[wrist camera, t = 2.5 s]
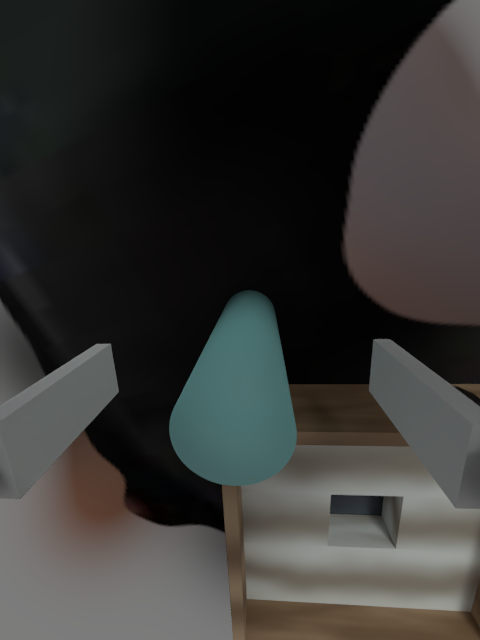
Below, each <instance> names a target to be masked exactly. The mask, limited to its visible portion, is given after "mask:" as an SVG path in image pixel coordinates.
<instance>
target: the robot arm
mask: <svg viewBox="0 0 480 640" xmlns="http://www.w3.org/2000/svg"><path fill="white" fill-rule="evenodd" d="M369 391H370V393H371V394H372V396H373V397H374V398H375V400H376V401H377V402H378V404H379V405H380V406H381V408H382V409H383V410H384V412H385V413H386V415H387V416H388V417H389V419H390V420H391V421H392V423H393V424H394V425H395V427H396V428H397V430H398V431H399V432H400V434H401V435H402V436H403V438H404V439H405V440H406V442H407V443H408V444H409V446H410V447H411V449H412V450H413V451H414V453H415V454H416V455H417V457H418V458H419V459H420V461H421V462H422V463H423V465H424V466H425V468H426V469H427V470H428V472H429V473H430V474H431V476H432V477H433V478H434V480H435V481H436V483H437V484H438V485H439V487H440V488H441V489H442V491H443V492H444V493H445V495H446V496H447V497H448V499H449V500H450V502H451V503H452V504H453V506H454V507H455V508H456V509H480V398H479V397H477V396H476V395H475V394H473V393H471V392H469V391H467V390H465V389H462V388H460V387H458V386H452V385H450V384H449V383H448V382H446V381H445V380H444V379H442V378H441V377H440V376H438V375H437V374H436V373H434V372H433V371H432V370H430V369H429V368H428V367H426V366H425V365H424V364H422V363H421V362H420V361H418V360H417V359H416V358H414V357H413V356H412V355H411V354H409V353H408V352H406V351H405V350H404V349H403V348H401V347H400V346H399V345H397V344H396V343H395V342H393V341H392V340H391V339H373V349H372V361H371V372H370V383H369ZM118 392H119V390H118V384H117V378H116V372H115V366H114V361H113V355H112V349H111V344H96V345H94V346H92V347H91V348H89V349H88V350H86V351H85V352H83V353H82V354H80V355H78V356H77V357H75V358H74V359H72V360H71V361H69V362H67V363H66V364H64V365H63V366H61V367H60V368H58V369H57V370H55V371H53V372H52V373H50V374H49V375H47V376H46V377H44V378H42V379H41V380H40V381H38V382H36V383H35V384H33V385H32V386H30V387H28V388H27V389H25V390H24V391H22V392H21V393H19V394H17V395H16V396H14V397H13V398H11V399H10V400H8V401H7V402H5V403H3V404H2V405H0V498H15V499H17V498H18V499H20V498H22V496H23V495H24V494H25V493H26V492H27V491H28V490H29V489H30V488H31V487H32V486H33V485H34V483H35V482H36V481H37V480H38V479H39V478H40V477H41V476H42V475H43V474H44V473H45V471H46V470H47V469H48V468H49V467H50V466H51V465H52V464H53V463H54V462H55V461H56V460H57V458H58V457H59V456H60V455H61V454H62V453H63V452H64V451H65V450H66V449H67V448H68V446H69V445H70V444H71V443H72V442H73V441H74V440H75V439H76V438H77V437H78V436H79V435H80V433H81V432H82V431H83V430H84V429H85V428H86V427H87V426H88V425H89V424H90V423H91V422H92V420H93V419H94V418H95V417H96V416H97V415H98V414H99V413H100V412H101V411H102V410H103V408H104V407H105V406H106V405H107V404H108V403H109V402H110V401H111V400H112V399H113V398H114V397H115V395H116V394H117V393H118Z"/></svg>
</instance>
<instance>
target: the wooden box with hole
mask: <svg viewBox="0 0 480 640" xmlns="http://www.w3.org/2000/svg"><path fill="white" fill-rule="evenodd" d="M288 385H289V391H290V396H291V401H292V407H293V412H294V418H295V423H296V429H297V440H296V446H295V450H294V452H293V454H292V456H291V458H290V460H289V461H288V463H287V464H286V465H285V466H284V467H283V468H282V469H281V470H280V471H279V472H278V473H277V474H275V475H274V476H272V477H270V478H268V479H267V480H264V481H262V482H259V483H255V484H251V485H245V486H229V485H223V484H222V494H223V508H224V521H225V535H226V547H227V562H228V575H229V589H230V602H231V616H232V629H233V640H480V509H456V508H455V507H454V506H453V504H452V503H451V502H450V500H449V499H448V497H447V496H446V495H445V493H444V492H443V491H442V489H441V488H440V487H439V485H438V484H437V483H436V481H435V480H434V478H433V477H432V476H431V474H430V473H429V472H428V470H427V469H426V468H425V466H424V465H423V463H422V462H421V461H420V459H419V458H418V457H417V455H416V454H415V453H414V451H413V450H412V449H411V447H410V446H409V444H408V443H407V442H406V440H405V439H404V438H403V436H402V435H401V434H400V432H399V431H398V430H397V428H396V427H395V425H394V424H393V423H392V421H391V420H390V419H389V417H388V416H387V415H386V413H385V412H384V410H383V409H382V408H381V406H380V405H379V404H378V402H377V401H376V400H375V398H374V397H373V396H372V394H371V393H370V391H369V384H288ZM450 385H452V386H458V387H460V388H462V389H465V390H467V391H469V392H471V393H473V394H475V395H476V396H477V397H479V398H480V384H450ZM331 495H365V496H384V499H383V507H382V515H381V516H380V515H350V514H330V502H331Z"/></svg>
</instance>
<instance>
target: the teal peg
mask: <svg viewBox="0 0 480 640" xmlns="http://www.w3.org/2000/svg"><path fill="white" fill-rule="evenodd" d="M169 433H170V439H171V443H172V445H173V448H174V450H175V452H176V454H177V455H178V457H179V458H180V460H181V461H182V462H183V463H184V464H185V465H186V466H187V467H188V468H189V469H190V470H191V471H193V472H194V473H196V474H197V475H199V476H201V477H202V478H204V479H207V480H209V481H211V482H215V483H218V484H223V485H229V486H245V485H251V484H255V483H259V482H262V481H264V480H267V479H268V478H270V477H272V476H274V475H275V474H277V473H278V472H279V471H280V470H281V469H282V468H283V467H284V466H285V465H286V464H287V463H288V461H289V460H290V458H291V456H292V454H293V452H294V450H295V446H296V440H297V429H296V423H295V418H294V412H293V407H292V401H291V396H290V391H289V385H288V380H287V374H286V369H285V363H284V358H283V353H282V347H281V342H280V336H279V331H278V325H277V320H276V315H275V310H274V306H273V304H272V302H271V301H270V300H269V299H268V297H266V296H265V295H264V294H262V293H260V292H257V291H253V290H246V291H241V292H239V293H237V294H235V295H234V296H232V297H231V298H230V300H229V301H228V302H227V304H226V306H225V308H224V310H223V312H222V314H221V316H220V318H219V320H218V322H217V324H216V326H215V328H214V330H213V332H212V334H211V336H210V338H209V340H208V342H207V344H206V346H205V348H204V349H203V351H202V353H201V355H200V357H199V359H198V361H197V363H196V365H195V367H194V369H193V371H192V373H191V375H190V377H189V379H188V381H187V383H186V385H185V387H184V389H183V391H182V393H181V395H180V397H179V399H178V401H177V403H176V405H175V407H174V409H173V411H172V414H171V418H170V424H169Z"/></svg>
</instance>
